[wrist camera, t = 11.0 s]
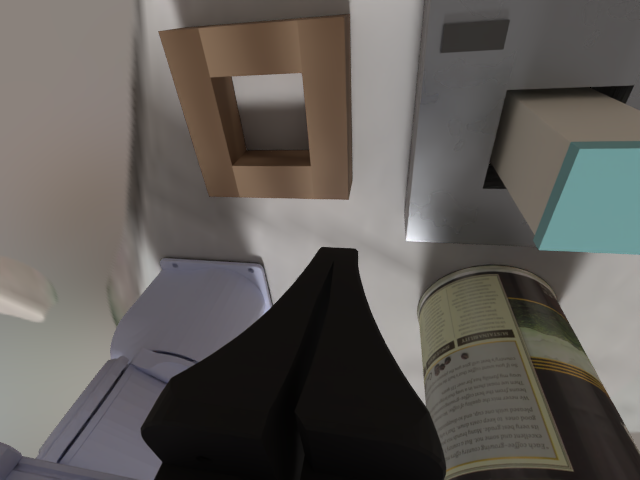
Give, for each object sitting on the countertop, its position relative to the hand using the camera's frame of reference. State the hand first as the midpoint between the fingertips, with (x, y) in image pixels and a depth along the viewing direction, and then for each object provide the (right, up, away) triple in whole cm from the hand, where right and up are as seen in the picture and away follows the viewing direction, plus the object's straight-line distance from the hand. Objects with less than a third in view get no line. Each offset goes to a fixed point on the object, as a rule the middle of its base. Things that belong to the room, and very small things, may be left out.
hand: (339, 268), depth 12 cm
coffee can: (+12, -5, +14) cm, 19 cm away
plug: (+11, +7, +5) cm, 14 cm away
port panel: (+11, +7, +5) cm, 14 cm away
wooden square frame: (-3, +9, +7) cm, 12 cm away
